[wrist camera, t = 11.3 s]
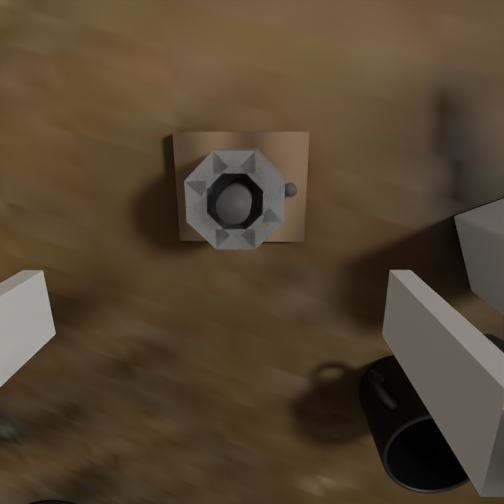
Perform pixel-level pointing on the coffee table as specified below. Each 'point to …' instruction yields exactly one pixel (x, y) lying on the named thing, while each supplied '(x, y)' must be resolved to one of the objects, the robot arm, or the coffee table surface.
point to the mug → (407, 432)
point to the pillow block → (246, 178)
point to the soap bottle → (484, 251)
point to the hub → (204, 199)
